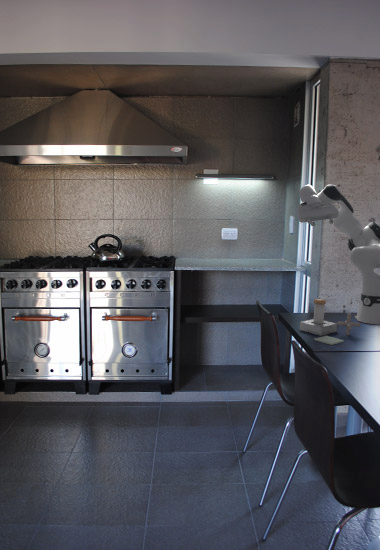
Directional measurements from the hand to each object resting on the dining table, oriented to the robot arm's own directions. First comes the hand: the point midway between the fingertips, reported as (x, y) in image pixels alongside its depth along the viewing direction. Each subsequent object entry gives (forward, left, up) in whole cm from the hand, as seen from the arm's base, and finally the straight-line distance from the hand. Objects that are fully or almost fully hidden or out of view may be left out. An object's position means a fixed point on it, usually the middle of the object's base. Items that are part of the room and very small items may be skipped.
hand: (322, 223), depth 223 cm
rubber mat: (+25, +24, -50) cm, 61 cm away
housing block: (+15, +11, -50) cm, 53 cm away
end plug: (+15, +11, -50) cm, 54 cm away
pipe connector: (+9, +23, -50) cm, 56 cm away
